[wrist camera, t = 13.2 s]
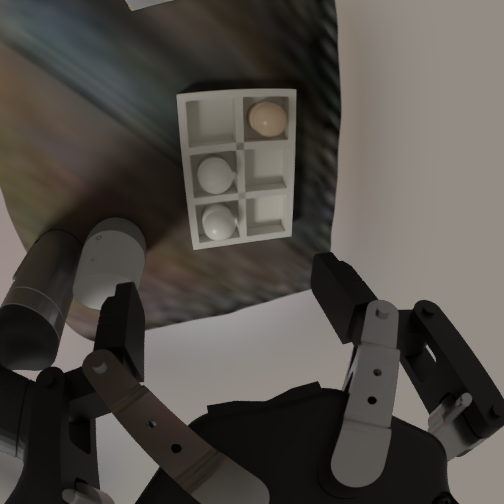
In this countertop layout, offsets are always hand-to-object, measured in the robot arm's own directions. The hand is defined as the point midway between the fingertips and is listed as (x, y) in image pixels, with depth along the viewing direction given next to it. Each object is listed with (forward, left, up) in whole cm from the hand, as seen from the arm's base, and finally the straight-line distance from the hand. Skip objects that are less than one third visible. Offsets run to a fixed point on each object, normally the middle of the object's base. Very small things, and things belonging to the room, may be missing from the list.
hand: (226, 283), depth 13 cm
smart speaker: (-13, -13, -30) cm, 35 cm away
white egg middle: (+3, -4, -29) cm, 30 cm away
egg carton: (+6, -4, -30) cm, 31 cm away
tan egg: (+10, +3, -29) cm, 31 cm away
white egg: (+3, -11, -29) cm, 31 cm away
